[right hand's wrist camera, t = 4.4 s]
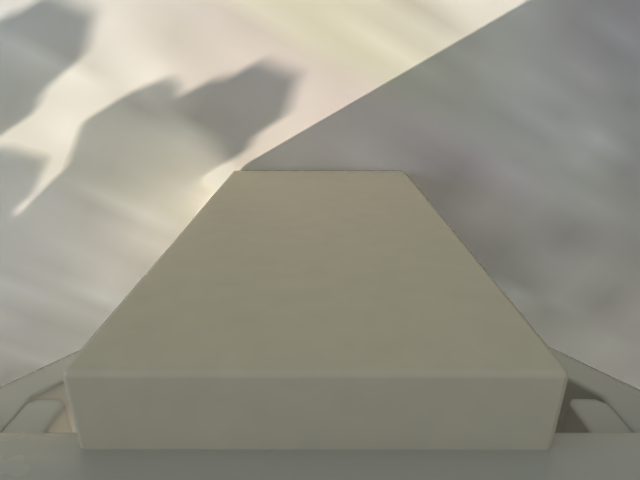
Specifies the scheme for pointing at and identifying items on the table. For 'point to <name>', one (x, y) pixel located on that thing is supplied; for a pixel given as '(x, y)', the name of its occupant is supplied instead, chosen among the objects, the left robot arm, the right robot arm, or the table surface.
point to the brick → (316, 332)
